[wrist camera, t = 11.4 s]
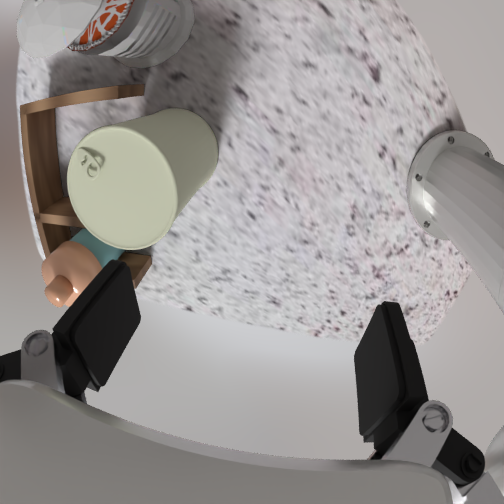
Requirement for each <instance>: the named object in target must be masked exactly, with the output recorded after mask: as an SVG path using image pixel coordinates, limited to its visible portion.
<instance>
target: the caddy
mask: <svg viewBox="0 0 504 504" xmlns="http://www.w3.org/2000/svg"><path fill="white" fill-rule="evenodd" d="M142 95H144V84H136V85H120V86H111V87H104V88H97V89H91V90H85V91H79V92H74V93H69V94H64V95H59V96H55V97H50V98H46V99H42V100H38V101H35V102H31V103H27V104H24V105H20V118H21V134H22V145H23V154H24V162H25V169H26V175H27V182H28V187H29V193H30V198H31V203H32V207H33V212H34V216H35V220H36V224H37V228H38V232H39V236H40V240H41V243H42V247H43V250H44V253H45V257H46V258H47V257H48V256H49V255H50V254H51V253H52V252H53V251H54V250H55V249H57V248H58V247H59V246H60V245H61V244H62V243H63V242H66V241H69V240H71V239H72V237H71V233H70V228H69V226H73V227H80V228H86V227H85V226H84V225H83V224H82V222H81V221H80V219H79V218H78V216H77V214H76V213H75V211H74V208H73V206H72V204H71V201H70V197H63V191H62V185H61V178H60V170H59V162H58V152H57V141H56V125H55V108H57V107H62V106H68V105H74V104H80V103H87V102H94V101H102V100H110V99H120V98H127V97H134V96H142ZM118 260H119V261H124V262H125V263H126V264H127V266H129V268H130V271H131V276H132V281H133V285H134V288H135V289H136V288H137V286H138V284H139V283H140V281H141V280H142V278H143V277H144V275H145V274H146V272H147V271H148V269H149V268H150V266H151V265H152V261H151V256H147V255H140V254H134V253H128V252H124V253H123V254H122V255H121V256H120V258H119V259H118Z"/></svg>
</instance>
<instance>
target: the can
mask: <svg viewBox="0 0 504 504" xmlns="http://www.w3.org/2000/svg"><path fill="white" fill-rule="evenodd" d="M217 160H218V146H217V141H216V138H215V135H214V133H213V131H212V130H211V128H210V126H209V125H208V124H207V123H206V122H205V121H204V120H203V119H202V118H201V117H200V116H198V115H197V114H195V113H193V112H191V111H188V110H185V109H179V108H170V109H165V110H161V111H159V112H156V113H155V114H151V115H148V116H144V117H140V118H136V119H133V120H129V121H125V122H121V123H118V124H114V125H108V126H103V127H100V128H98V129H95V130H93V131H92V132H90V133H89V134H88V135H86V136H85V137H84V138H83V139H82V140H81V141H80V142H79V144H78V145H77V146H76V148H75V150H74V151H73V154H72V156H71V159H70V162H69V166H68V172H67V186H68V193H69V197H70V201H71V204H72V206H73V208H74V211H75V213H76V214H77V216H78V218H79V219H80V221H81V222H82V224H83V225H84V226H85V227H86V228H87V230H88V231H89V232H91V233H92V234H93V235H94V236H95V237H96V238H98V239H99V240H101V241H102V242H104V243H106V244H108V245H110V246H113V247H116V248H120V249H125V250H137V249H143V248H146V247H149V246H151V245H153V244H155V243H156V242H158V241H159V240H160V239H162V238H163V237H164V236H165V235H166V233H167V232H168V231H169V229H170V228H171V226H172V224H173V222H174V221H175V219H176V218H177V216H178V215H179V214H180V212H181V211H182V210H183V208H184V207H185V206H186V205H187V203H188V202H189V201H190V199H191V198H192V197H193V196H194V194H195V193H196V192H197V191H198V190H199V188H201V187H202V186H203V185H205V184H206V183H207V181H208V180H209V179H210V178H211V176H212V174H213V173H214V170H215V168H216V165H217Z"/></svg>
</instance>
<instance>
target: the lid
mask: <svg viewBox="0 0 504 504" xmlns="http://www.w3.org/2000/svg"><path fill="white" fill-rule="evenodd" d="M101 270H102V267H101V265H100V263H99V261H98V260H97V258H96V257H95V256H94V254H93V253H92V252H91V251H90V250H89V249H87V248H86V247H85V246H83V245H82V244H80V243H78V242H74V241H66V242H63V243H62V244H61V245H60V246H59V247H58V248H57V249H55V250H54V251H53V252H52V253H51V254H50V255H49V256H48V257H47V258H46V259H45V260H44V261H43V264H42V275H43V278H44V281H45V283H46V285H47V287H46V288H45V295H46V297H47V298H48V300H49V301H50V302H51V303H52V304H54V305H55V306H57V307H62V306H63V305H64V304H65V305H67V306H69V307H70V306H71V305H72V304H73V302H74V301H75V300H76V299H77V298H78V296H79V295H80V294H81V293H82V292H83V290H84V289H85V288H86V287H87V286H88V285H89V283H90V282H91V281H92V280H93V279H94V278H95V276H96V275H97V274H98V273H99V272H100V271H101Z"/></svg>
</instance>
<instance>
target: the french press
mask: <svg viewBox="0 0 504 504" xmlns="http://www.w3.org/2000/svg"><path fill="white" fill-rule="evenodd" d="M194 21H195V20H194V9H193V4H192V3H191V1H190V0H24V2H23V4H22V7H21V10H20V13H19V16H18V19H17V38H18V41H19V44H20V46H21V49H22V51H24V52H25V53H26V54H28V55H29V56H30V57H32V58H48V57H50V56H52V55H54V54H55V53H57V52H59V51H61V50H63V49H65V48H69V49H71V50H72V51H78V52H79V53H83V54H89V55H103V56H114V57H115V59H116V60H118V61H119V62H121V63H122V64H124V65H126V66H127V67H135V68H147V67H151V66H154V65H158V64H161V63H162V62H164V61H165V60H167V59H168V58H170V57H171V56H173V55H175V54H176V53H177V52H178V51H179V49H180V48H181V47H182V46H183V44H184V43H185V42H186V41H187V40H188V38H189V36H190V33H191V30H192V27H193V24H194Z"/></svg>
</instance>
